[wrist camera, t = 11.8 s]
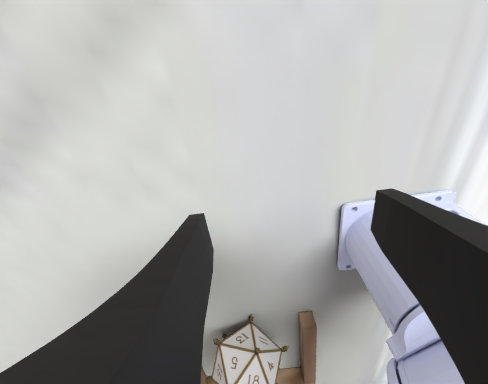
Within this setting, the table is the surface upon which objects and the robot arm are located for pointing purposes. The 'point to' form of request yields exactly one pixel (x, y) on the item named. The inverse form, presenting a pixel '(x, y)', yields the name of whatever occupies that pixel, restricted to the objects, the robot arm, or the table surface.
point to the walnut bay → (302, 378)
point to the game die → (246, 358)
